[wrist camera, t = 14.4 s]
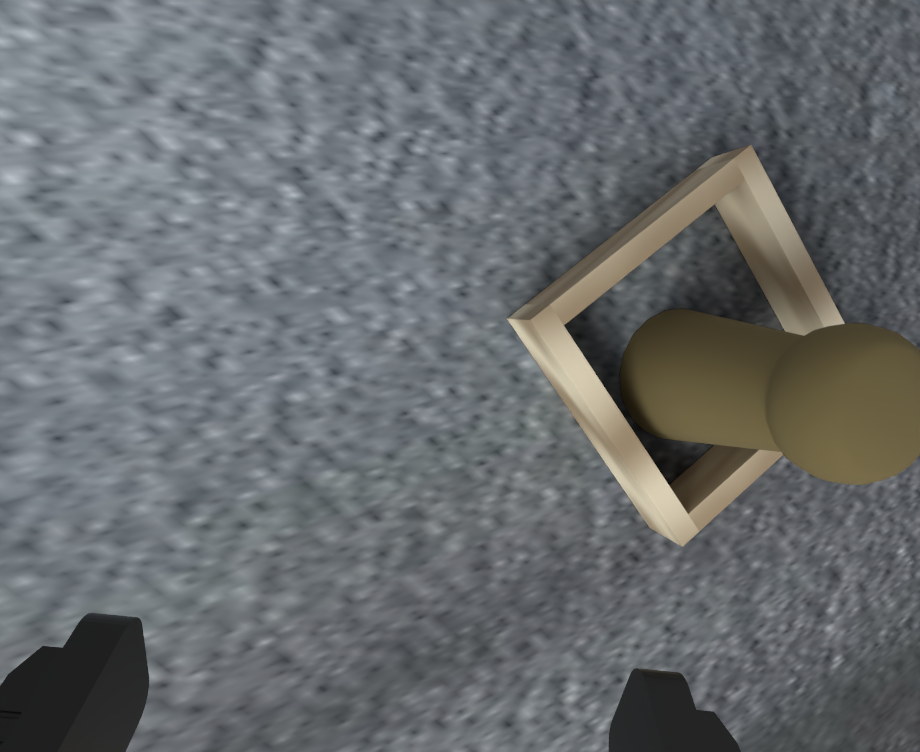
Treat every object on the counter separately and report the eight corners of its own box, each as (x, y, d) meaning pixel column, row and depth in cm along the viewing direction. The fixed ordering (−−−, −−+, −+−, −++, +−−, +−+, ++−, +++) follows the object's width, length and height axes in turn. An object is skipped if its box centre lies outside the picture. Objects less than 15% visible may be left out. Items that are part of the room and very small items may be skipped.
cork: (697, 282, 30) (929, 270, 20) (754, 389, 32) (998, 431, 21) (596, 359, 29) (784, 389, 19) (659, 466, 31) (867, 550, 20)
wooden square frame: (507, 318, 28) (808, 337, 12) (724, 147, 30) (1209, -16, 15) (699, 600, 32) (1098, 869, 17) (877, 433, 34) (1375, 537, 19)
